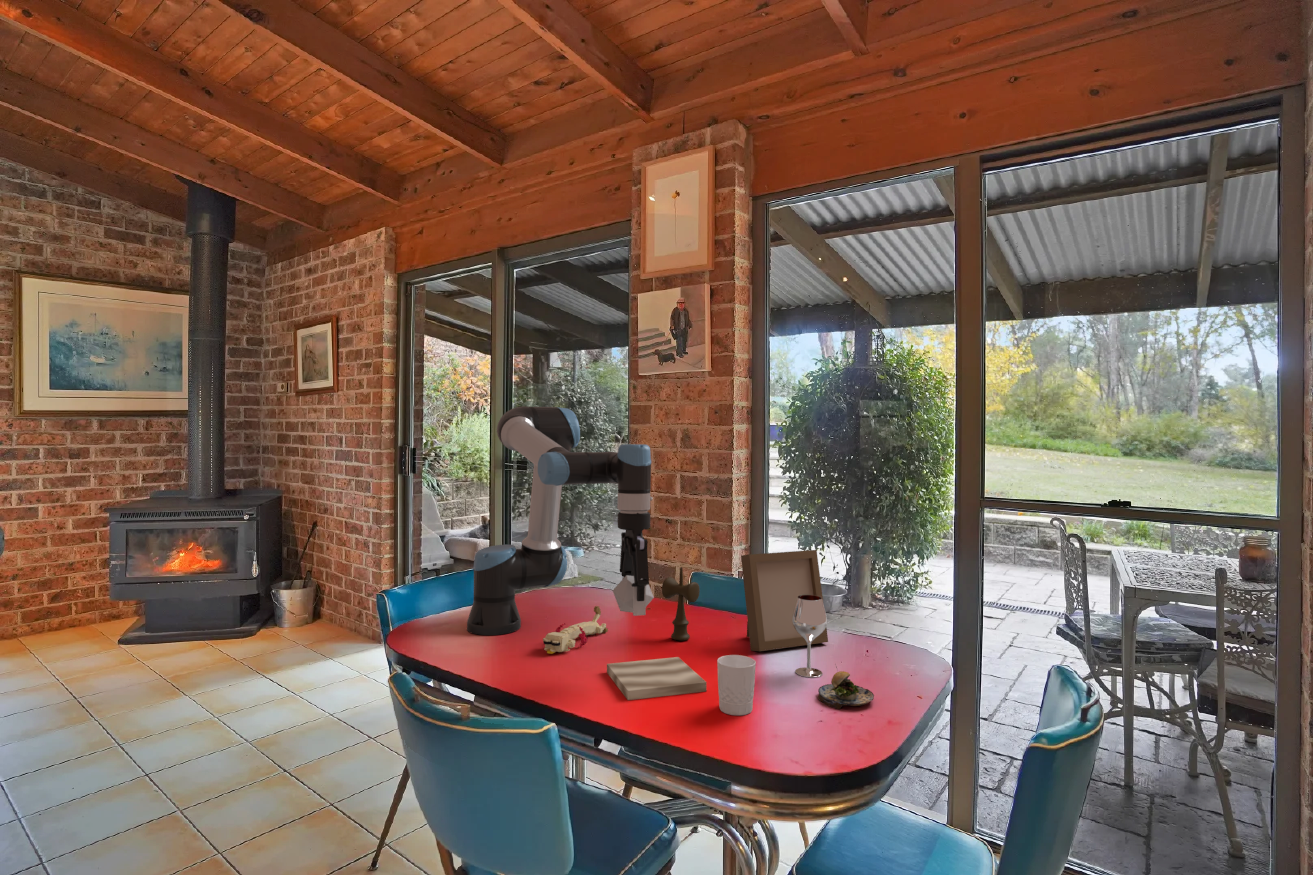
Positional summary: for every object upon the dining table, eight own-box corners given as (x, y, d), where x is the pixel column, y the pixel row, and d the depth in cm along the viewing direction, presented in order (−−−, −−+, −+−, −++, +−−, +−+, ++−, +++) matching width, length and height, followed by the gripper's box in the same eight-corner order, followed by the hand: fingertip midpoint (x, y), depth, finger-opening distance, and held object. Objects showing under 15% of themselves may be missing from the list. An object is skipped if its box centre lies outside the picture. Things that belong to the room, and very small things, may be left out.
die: (659, 611, 161) (644, 574, 165) (655, 601, 153) (640, 562, 158) (625, 625, 160) (612, 587, 164) (620, 615, 152) (606, 575, 157)
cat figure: (583, 634, 200) (531, 650, 178) (585, 603, 201) (533, 616, 178) (613, 639, 196) (564, 656, 173) (615, 607, 196) (566, 621, 174)
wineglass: (806, 681, 160) (807, 603, 160) (784, 670, 167) (785, 595, 167) (833, 675, 164) (834, 599, 164) (810, 665, 171) (811, 592, 171)
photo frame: (828, 645, 187) (829, 553, 187) (759, 655, 179) (760, 557, 178) (795, 631, 201) (796, 544, 201) (730, 639, 192) (731, 549, 192)
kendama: (673, 633, 197) (674, 563, 197) (700, 640, 191) (701, 567, 191) (659, 638, 192) (660, 566, 192) (687, 645, 186) (688, 570, 186)
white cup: (713, 702, 147) (714, 655, 147) (750, 701, 147) (751, 654, 147) (720, 717, 139) (720, 667, 139) (759, 716, 139) (759, 666, 139)
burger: (841, 715, 141) (841, 678, 141) (806, 695, 152) (806, 661, 152) (887, 706, 146) (887, 671, 146) (850, 687, 157) (850, 654, 157)
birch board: (606, 672, 164) (606, 663, 164) (678, 665, 170) (678, 656, 170) (627, 700, 147) (627, 690, 147) (706, 691, 153) (706, 682, 153)
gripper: (664, 515, 150) (663, 620, 150) (637, 506, 170) (636, 598, 170) (630, 516, 147) (629, 623, 147) (607, 507, 168) (606, 600, 168)
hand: (633, 609), depth 159 cm, fingers closed on die, 9 cm apart
